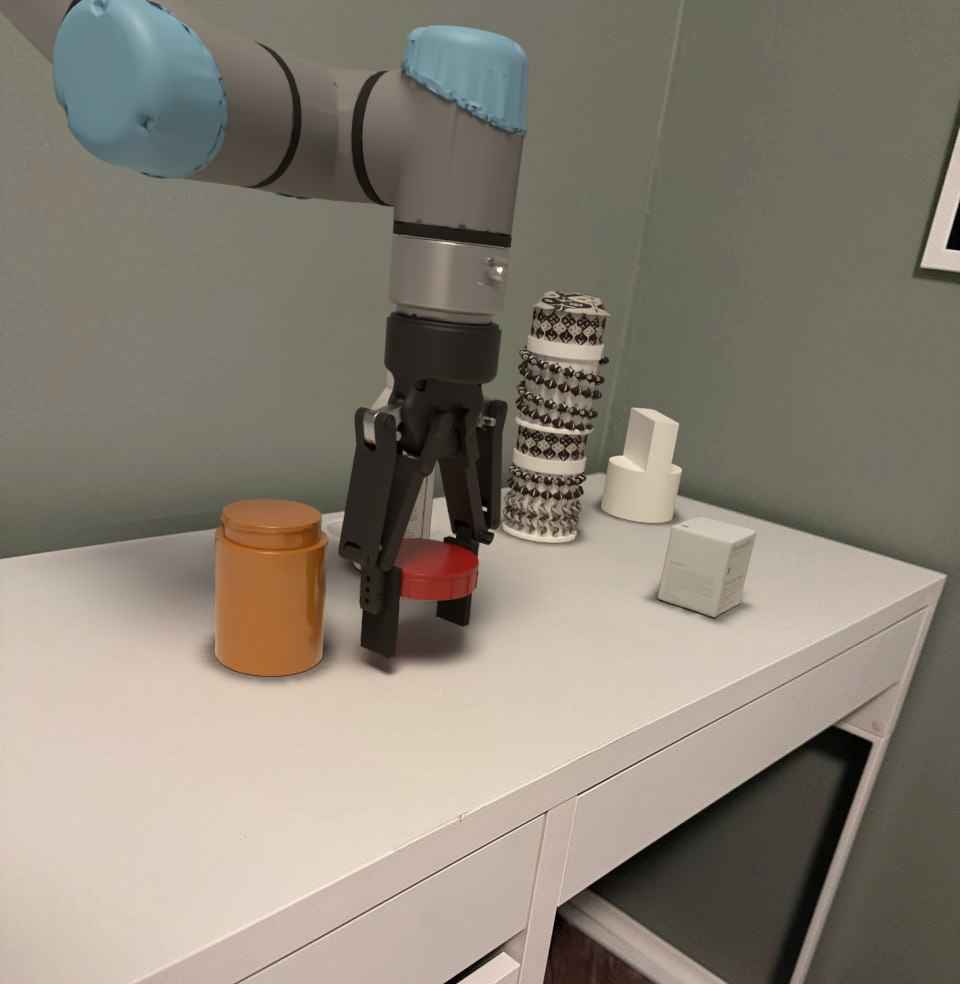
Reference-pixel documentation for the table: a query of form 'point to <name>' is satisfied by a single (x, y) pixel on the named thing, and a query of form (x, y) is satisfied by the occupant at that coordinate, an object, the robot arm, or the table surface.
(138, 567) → the table surface
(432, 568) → the lid
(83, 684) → the table surface
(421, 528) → the bath foam
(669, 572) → the product box
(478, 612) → the table surface
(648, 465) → the cylinder with rectangular tab
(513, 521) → the decorative candle
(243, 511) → the jam jar
